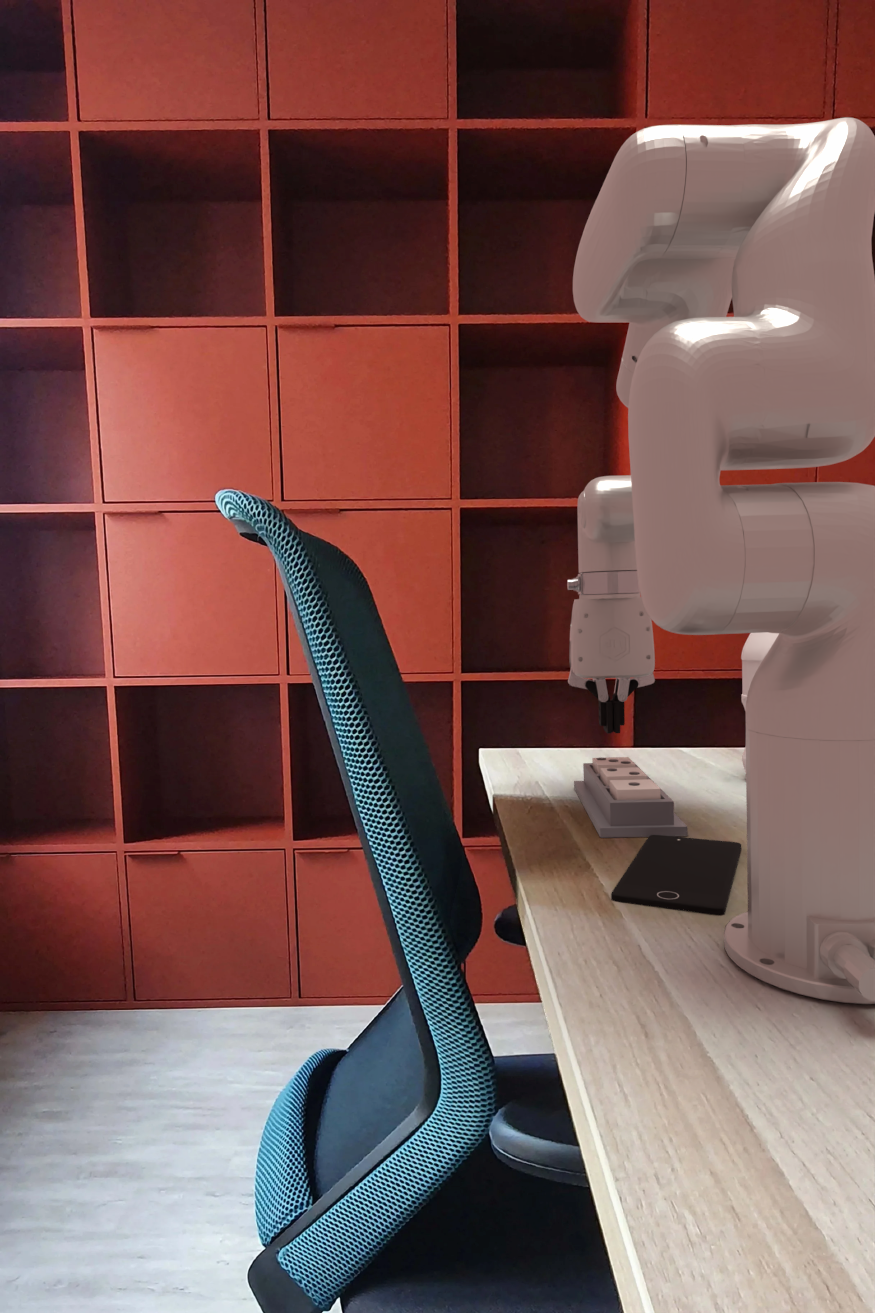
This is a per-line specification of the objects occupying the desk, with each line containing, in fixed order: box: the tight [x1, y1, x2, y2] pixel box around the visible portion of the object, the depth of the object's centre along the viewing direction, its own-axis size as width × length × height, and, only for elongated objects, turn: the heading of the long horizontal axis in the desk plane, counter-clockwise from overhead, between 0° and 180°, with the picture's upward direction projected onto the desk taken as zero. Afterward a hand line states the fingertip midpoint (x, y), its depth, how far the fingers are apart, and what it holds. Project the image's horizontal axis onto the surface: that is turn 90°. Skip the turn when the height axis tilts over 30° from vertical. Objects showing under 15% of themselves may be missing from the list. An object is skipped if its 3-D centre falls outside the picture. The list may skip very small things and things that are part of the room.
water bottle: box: [740, 632, 779, 772], centre depth 101 cm, size 7×7×25 cm
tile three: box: [591, 756, 636, 774], centre depth 97 cm, size 5×5×2 cm
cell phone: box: [610, 835, 742, 916], centre depth 69 cm, size 9×18×1 cm, turn 154°
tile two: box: [600, 766, 648, 786], centre depth 90 cm, size 5×5×2 cm
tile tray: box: [573, 762, 689, 839], centre depth 90 cm, size 22×9×4 cm, turn 177°
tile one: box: [610, 778, 661, 800], centre depth 84 cm, size 5×5×2 cm
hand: (611, 731), depth 97 cm, fingers closed
